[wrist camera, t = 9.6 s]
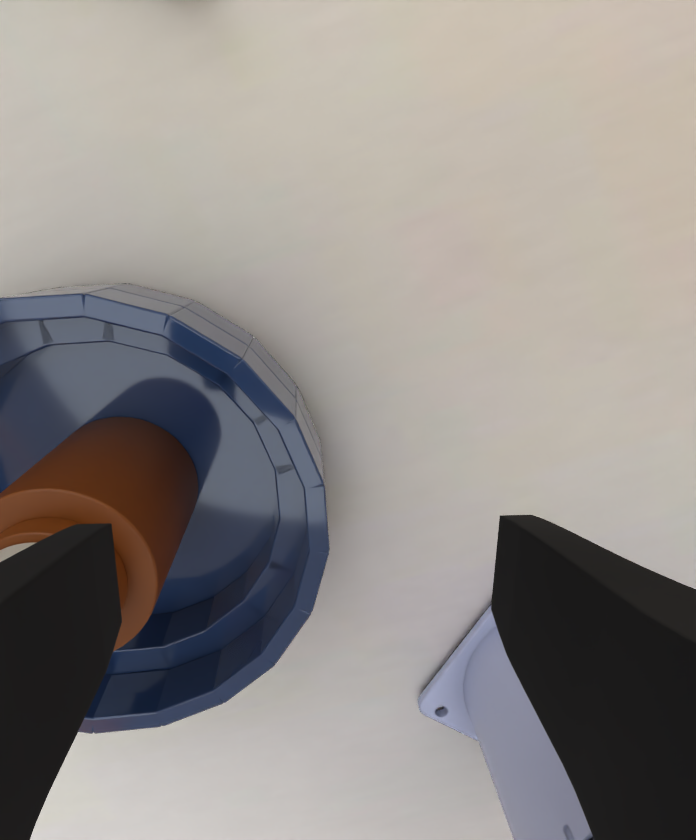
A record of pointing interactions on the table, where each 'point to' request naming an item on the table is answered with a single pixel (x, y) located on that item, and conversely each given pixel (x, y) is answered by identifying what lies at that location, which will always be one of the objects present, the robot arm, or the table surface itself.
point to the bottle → (110, 504)
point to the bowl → (216, 471)
